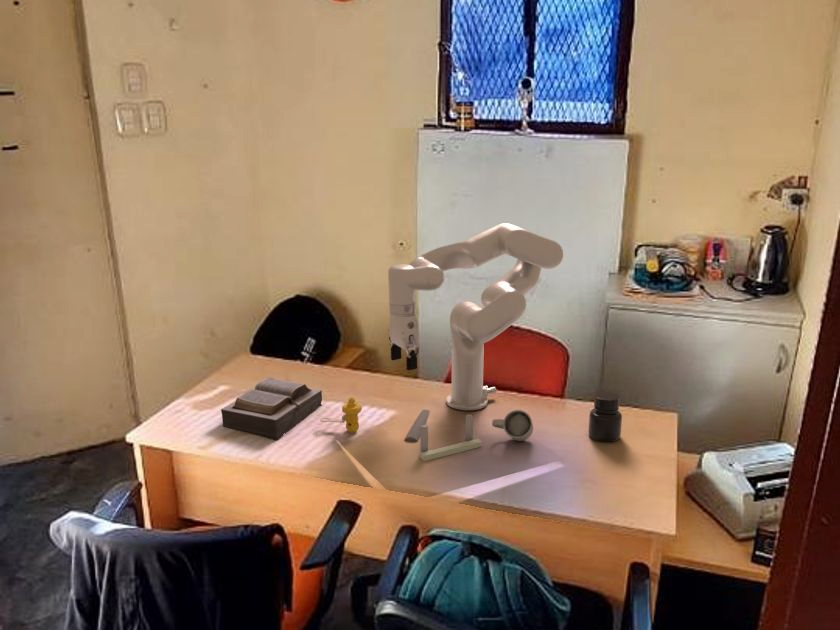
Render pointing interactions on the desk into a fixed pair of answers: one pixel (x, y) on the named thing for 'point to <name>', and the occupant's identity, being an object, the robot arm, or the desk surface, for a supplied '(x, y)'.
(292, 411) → the bible
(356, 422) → the pressure relief valve
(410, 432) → the half round rod
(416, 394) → the desk surface
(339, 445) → the desk surface
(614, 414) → the ink bottle
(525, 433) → the ceramic mug
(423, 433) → the peg rack
